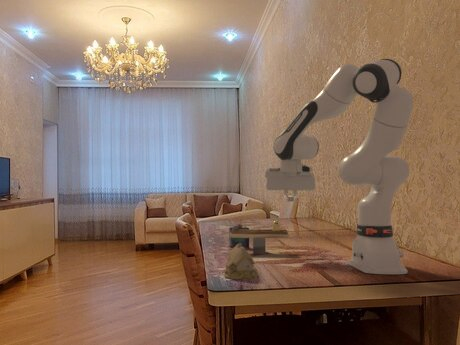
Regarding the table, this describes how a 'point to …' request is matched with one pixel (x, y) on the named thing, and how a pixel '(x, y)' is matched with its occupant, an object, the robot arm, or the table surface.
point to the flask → (235, 241)
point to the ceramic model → (240, 264)
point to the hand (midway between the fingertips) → (290, 201)
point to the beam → (257, 237)
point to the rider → (275, 226)
